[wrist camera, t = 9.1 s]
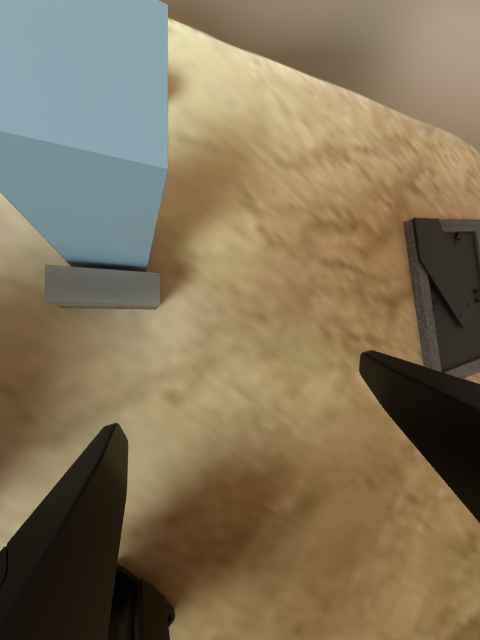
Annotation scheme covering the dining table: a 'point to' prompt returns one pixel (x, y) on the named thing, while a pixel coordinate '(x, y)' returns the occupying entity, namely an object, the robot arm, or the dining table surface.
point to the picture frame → (446, 292)
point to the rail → (101, 288)
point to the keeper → (86, 124)
